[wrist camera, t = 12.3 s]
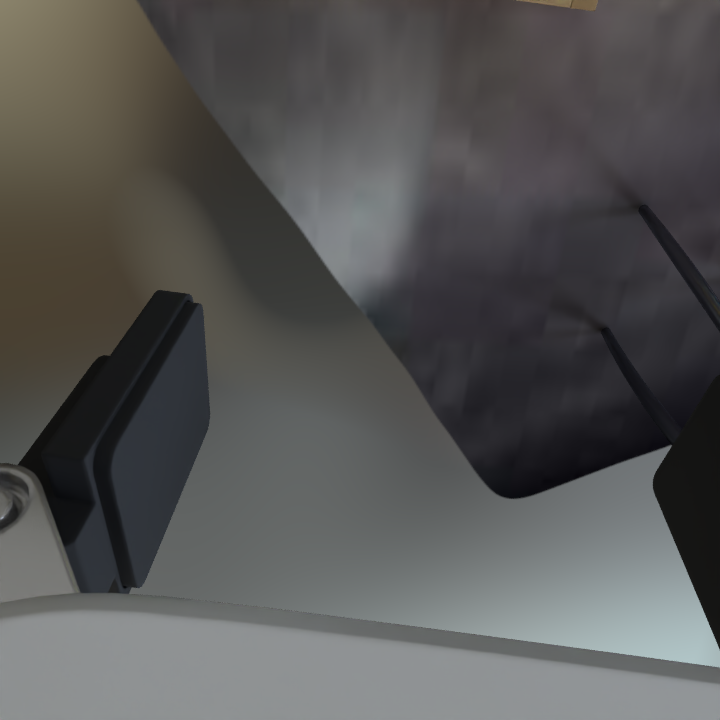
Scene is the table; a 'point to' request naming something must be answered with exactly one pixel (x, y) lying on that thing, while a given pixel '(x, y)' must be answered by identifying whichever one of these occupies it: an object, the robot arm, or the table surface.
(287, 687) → the robot arm
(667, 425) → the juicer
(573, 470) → the table surface
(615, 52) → the table surface
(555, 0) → the holder
